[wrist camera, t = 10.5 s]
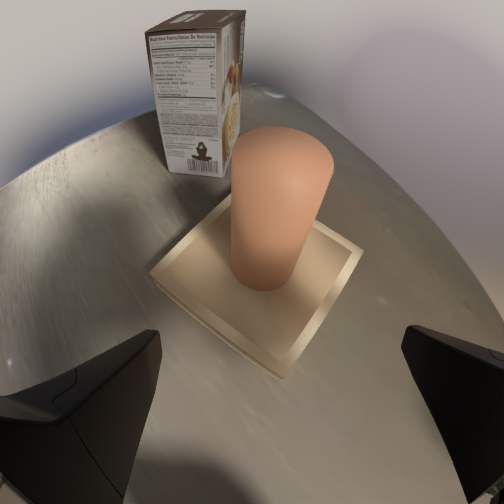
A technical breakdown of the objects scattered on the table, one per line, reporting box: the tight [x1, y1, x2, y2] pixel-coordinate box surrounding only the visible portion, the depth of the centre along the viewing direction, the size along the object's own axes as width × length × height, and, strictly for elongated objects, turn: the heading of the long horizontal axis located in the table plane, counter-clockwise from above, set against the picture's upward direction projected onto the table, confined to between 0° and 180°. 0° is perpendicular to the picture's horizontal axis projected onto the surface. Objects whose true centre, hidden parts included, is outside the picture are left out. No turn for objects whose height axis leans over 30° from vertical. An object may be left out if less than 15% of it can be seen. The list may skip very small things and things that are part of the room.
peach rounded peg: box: [231, 126, 334, 291], centre depth 16 cm, size 5×5×10 cm
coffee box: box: [145, 10, 246, 178], centre depth 23 cm, size 9×6×16 cm
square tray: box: [149, 194, 364, 380], centre depth 21 cm, size 12×12×3 cm
